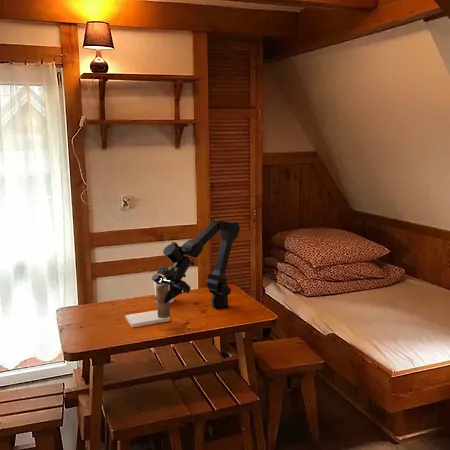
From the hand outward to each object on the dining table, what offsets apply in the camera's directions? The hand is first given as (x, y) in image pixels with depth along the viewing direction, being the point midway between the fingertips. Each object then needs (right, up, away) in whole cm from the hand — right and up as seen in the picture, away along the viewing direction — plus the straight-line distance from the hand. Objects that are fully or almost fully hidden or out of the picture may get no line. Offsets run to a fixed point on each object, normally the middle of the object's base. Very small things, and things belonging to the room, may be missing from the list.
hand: (160, 301), depth 214 cm
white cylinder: (-2, -5, +37) cm, 37 cm away
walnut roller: (+1, -6, +2) cm, 7 cm away
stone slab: (-7, -10, +12) cm, 17 cm away
